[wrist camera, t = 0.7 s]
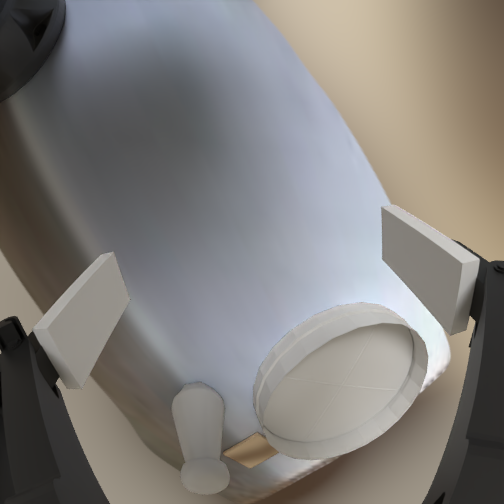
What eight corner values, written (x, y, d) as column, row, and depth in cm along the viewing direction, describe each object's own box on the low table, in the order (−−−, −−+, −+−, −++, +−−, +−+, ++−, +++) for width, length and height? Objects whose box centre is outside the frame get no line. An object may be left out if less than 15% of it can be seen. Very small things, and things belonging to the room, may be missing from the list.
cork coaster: (223, 451, 37) (223, 454, 36) (257, 432, 36) (257, 434, 36) (249, 466, 39) (250, 468, 38) (282, 447, 38) (283, 450, 38)
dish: (300, 277, 31) (319, 298, 27) (432, 319, 37) (455, 336, 33) (226, 429, 36) (231, 457, 31) (357, 436, 42) (370, 457, 37)
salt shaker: (192, 367, 32) (200, 463, 19) (232, 390, 34) (254, 481, 21) (161, 397, 32) (160, 490, 20) (200, 418, 34) (212, 506, 22)
